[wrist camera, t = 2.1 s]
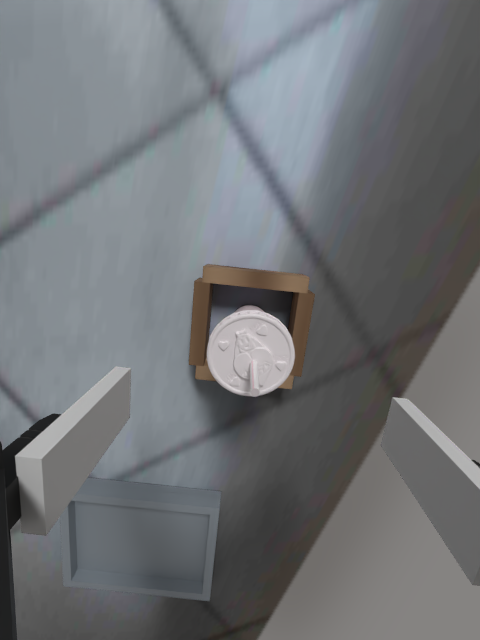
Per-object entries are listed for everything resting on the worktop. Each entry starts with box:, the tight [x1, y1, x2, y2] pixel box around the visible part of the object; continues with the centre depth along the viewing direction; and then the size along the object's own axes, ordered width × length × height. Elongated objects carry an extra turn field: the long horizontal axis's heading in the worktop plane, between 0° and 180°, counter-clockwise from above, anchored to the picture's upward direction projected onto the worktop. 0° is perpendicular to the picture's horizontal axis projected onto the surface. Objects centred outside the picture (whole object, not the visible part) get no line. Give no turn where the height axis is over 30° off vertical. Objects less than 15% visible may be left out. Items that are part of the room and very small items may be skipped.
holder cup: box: [189, 264, 315, 389], centre depth 29 cm, size 11×11×3 cm
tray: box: [60, 477, 221, 601], centre depth 36 cm, size 18×14×2 cm
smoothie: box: [207, 305, 295, 397], centre depth 24 cm, size 6×6×14 cm
